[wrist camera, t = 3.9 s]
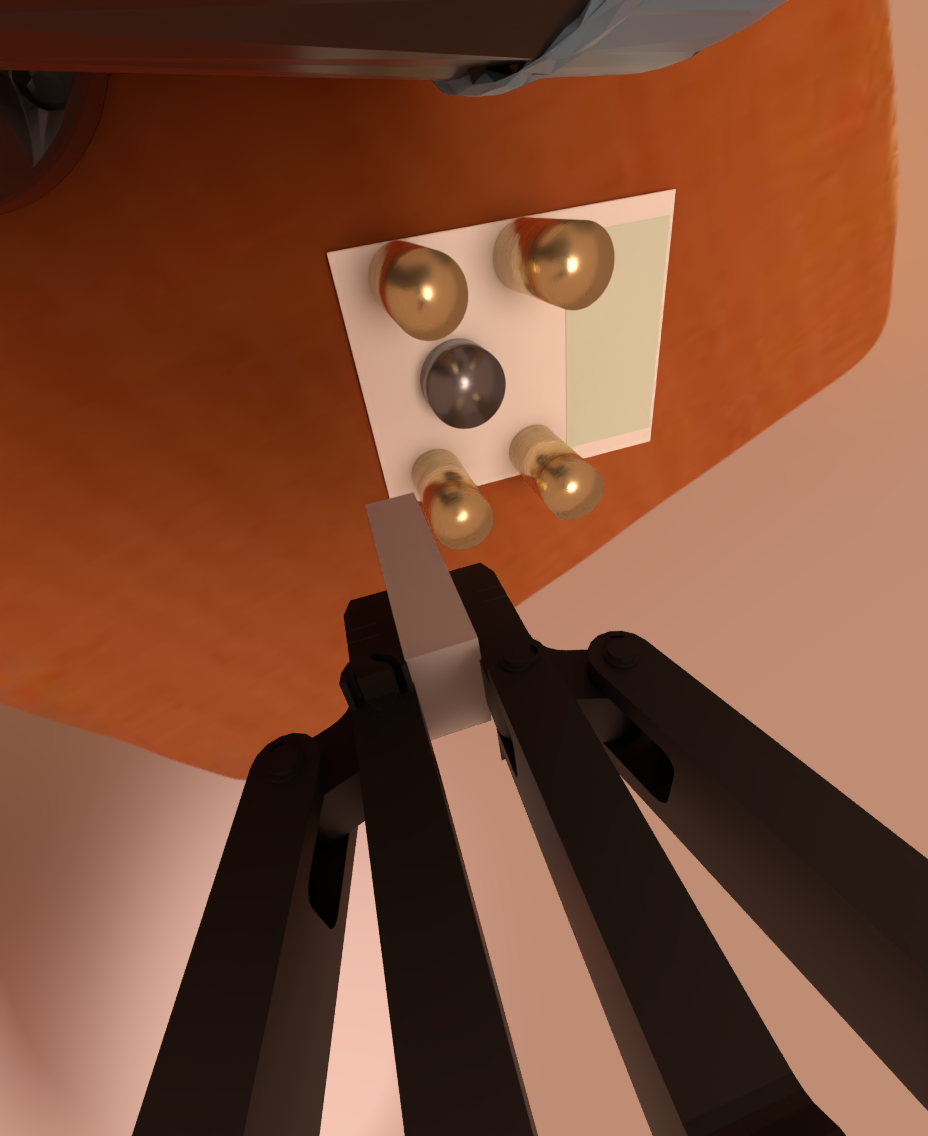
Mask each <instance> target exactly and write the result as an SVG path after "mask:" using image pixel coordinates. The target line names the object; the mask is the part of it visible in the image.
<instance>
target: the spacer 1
mask: <svg viewBox="0 0 928 1136" xmlns="http://www.w3.org/2000/svg"><path fill="white" fill-rule="evenodd" d="M368 281H369V286H370V290H371V292H372V295H373V297H374V298H375V300H376V301H377V303H378V304H379V305H380V306H381V307H382V308H383V309H384V310H385V311H386V312H387V313H388V315H389V316H390V317H391V318H392V319H393V320H394V321H395V322H396V323H397V324H398V325H399V326H400V327H401V329H402V330H403V331H404V332H406V333H407V334H408V335H410V336H411V337H413V338H416V339H419V340H422V341H435V340H439V339H442V338H444V337H446V336H448V335H449V334H451V333H452V332H453V331H454V330H455V329H456V328H457V327H458V326H459V324H460V323H461V321H462V319H463V318H464V315H465V313H466V309H467V305H468V286H467V282H466V278H465V276H464V273H463V271H462V270H461V268H460V266H459V265H458V264H457V263H456V262H455V261H454V260H453V259H452V258H451V257H450V256H449V255H447V254H445V253H443V252H441V251H438V250H435V249H431V248H428V247H424V246H421V245H417V244H414V243H411V242H407V241H402V240H396V241H391V242H388V243H386V244H384V245H383V246H381V247H380V248H379V249H378V250H377V251H376V253H375V254H374V256H373V258H372V260H371V262H370V265H369V271H368Z"/></svg>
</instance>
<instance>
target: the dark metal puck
mask: <svg viewBox="0 0 928 1136" xmlns="http://www.w3.org/2000/svg"><path fill="white" fill-rule="evenodd" d="M420 384H421V390H422V393H423V396H424V398H425V400H426V401H427V403H428V404H429V406H430V407H431V408H432V410H433V411H434V413H435V414H436V415H437V417H438V418H439V419H440V420H441V421H442V422H444V423H445V424H447V425H449V426H451V427H454V428H458V429H470V428H474V427H478V426H480V425H482V424H484V423H485V422H487V421H488V420H489V419H491V418H492V417H493V416H494V414H495V413H496V412H497V411H498V409H499V407H500V406H501V403H502V401H503V398H504V395H505V389H506V380H505V374H504V371H503V368H502V366H501V364H500V363H499V361H498V360H497V359H496V358H495V357H494V356H493V355H492V354H491V353H490V352H488V351H487V350H485V349H484V348H483V347H481V346H480V345H478V344H477V343H475V342H473V341H471V340H468V339H463V338H455V339H450V340H447V341H445V342H442V343H441V344H439V345H438V346H436V347H435V348H434V349H433V350H432V351H431V352H430V353H429V355H428V356H427V358H426V360H425V361H424V364H423V366H422V370H421V376H420Z"/></svg>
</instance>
